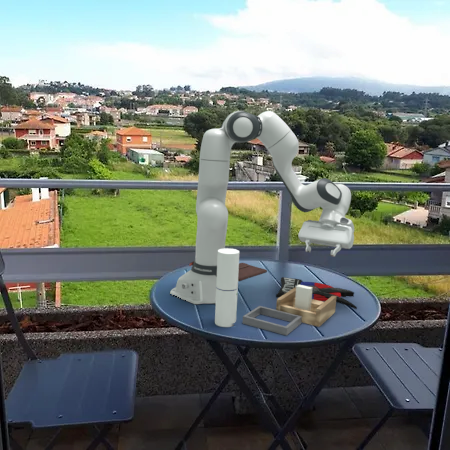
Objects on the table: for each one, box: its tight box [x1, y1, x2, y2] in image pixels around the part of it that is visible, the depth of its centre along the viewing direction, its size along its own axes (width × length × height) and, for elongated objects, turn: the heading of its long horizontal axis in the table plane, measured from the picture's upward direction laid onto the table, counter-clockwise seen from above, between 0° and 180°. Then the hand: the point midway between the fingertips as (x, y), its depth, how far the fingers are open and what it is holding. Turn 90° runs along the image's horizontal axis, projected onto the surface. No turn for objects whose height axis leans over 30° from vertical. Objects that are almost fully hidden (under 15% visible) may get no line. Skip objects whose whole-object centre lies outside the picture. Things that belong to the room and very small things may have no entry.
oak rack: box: [275, 287, 337, 328], centre depth 171 cm, size 16×16×7 cm
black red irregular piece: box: [275, 276, 358, 310], centre depth 193 cm, size 26×4×30 cm
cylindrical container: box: [214, 247, 240, 328], centre depth 160 cm, size 7×7×25 cm
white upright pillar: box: [295, 285, 313, 311], centre depth 167 cm, size 5×2×11 cm, turn 59°
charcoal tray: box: [242, 305, 302, 336], centre depth 161 cm, size 16×12×4 cm
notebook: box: [238, 262, 268, 282], centre depth 220 cm, size 15×20×2 cm
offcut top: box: [294, 298, 325, 309], centre depth 172 cm, size 10×4×2 cm, turn 55°
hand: (319, 253), depth 175 cm, fingers open, 8 cm apart
